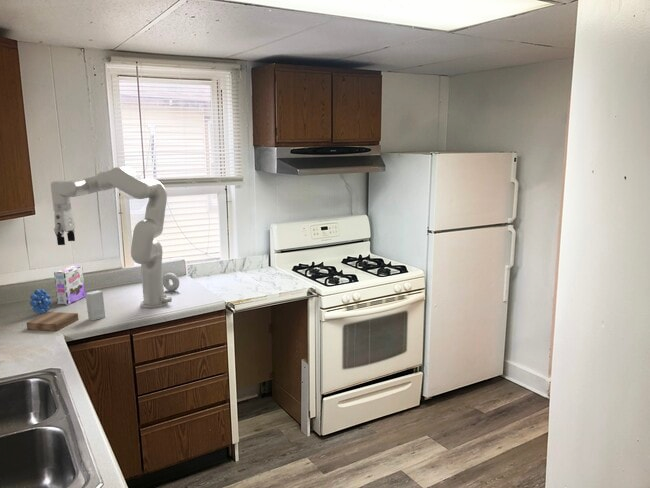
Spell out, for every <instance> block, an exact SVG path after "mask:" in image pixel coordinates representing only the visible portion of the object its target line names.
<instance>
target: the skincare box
mask: <svg viewBox="0 0 650 488" xmlns="http://www.w3.org/2000/svg"><path fill="white" fill-rule="evenodd" d="M85 295H86V297H85V302H86V309H87V317H88V320H90V321H97V320H100V319H103V318H105V317H106V311H105V302H104V293H103V291H101V290H93V291H90V292H85Z"/></svg>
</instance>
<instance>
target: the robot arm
mask: <svg viewBox="0 0 650 488" xmlns="http://www.w3.org/2000/svg"><path fill="white" fill-rule="evenodd" d="M112 189H117V190H120V191H122V192H124V193H125V194H126V195H129V196H130V197H133V198H134V199H137V200H145V199H147V198H148V201H147V203H146V207H145V214H144V218H143V219H142V220H140V221H138V222H137V224H135V226H134V227H133V231H132V232H133V233H132V237H131V245H130V246H131V247H130V257H131V258H132V260H133V262H134V263H136V264H138V265H140V271H141V272H140V274H141V276H140V277H141V285H142V287H141V288H142V297H143V298H142V299H143V301H141V302H140V307H141V308H144V309H157V308H161V307H164V306H166V305H168V303H172V301H173V299H172V296H167V293H165V287H164V285H163V277H164V275H163V246H162V244H161V243H160V242H159V241H158V240H157V239H156V238H158V237H159V236H161V235H162V233H163V230H164V223H165V214H166V207H167V202H168V201H167V200H168V197H167V196H168V195H167V194H168V193H167V190H166V188H165V186H164V185H163V184H162V183H161V181H159V180H157V179H154V178H149V177H148V178H142V179H138V178H137V175H136V171H135V170H134V169H133V168H132V167H130V166H126V165H125V166H117V167H116V166H115V167H113V168H112V169H110V170H104V171H99V172H98V173H97V174H96V175H95V176H91V177H86V178H81V179H75V180H68V181H67V180H53V181H51V182H50V192H51V198H52V199H51V201H52V209H53V212H54V215H53V216H54V228H53V230H54V234H55V237H56V242H57V246H65V245H66V241H65V236H64V235H65V233H66V234H67V235H66V236H67V241H68V242H75V241H76V237H75V228H76V225H75V219H74V214H73V210H72V204H71V198H75V197H76V198H77V197H80V196H81V197H82V196H86V195H90V194H94V193H97V192H102V191H103V192H105V191H109V190H112Z"/></svg>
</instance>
